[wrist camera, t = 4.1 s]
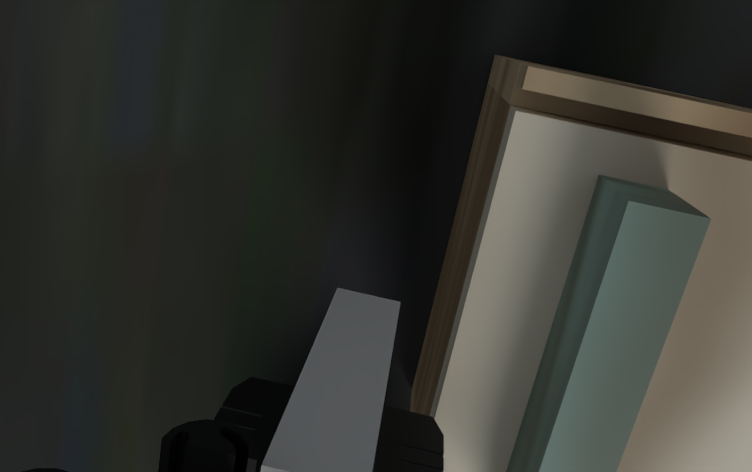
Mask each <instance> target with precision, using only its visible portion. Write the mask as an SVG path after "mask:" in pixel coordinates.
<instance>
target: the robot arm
mask: <svg viewBox="0 0 752 472" xmlns="http://www.w3.org/2000/svg"><path fill="white" fill-rule="evenodd" d="M400 303H401V302H399V301H394V300H390V299H385V298H381V297H376V296H372V295H367V294H363V293H359V292H354V291H350V290H345V289H341V288H337V290H336V292H335V295H334V297H333V299H332V302H331V304H330V306H329V309H328V311H327V313H326V316H325V318H324V320H323V323H322V325H321V327H320V330H319V332H318V334H317V337H316V339H315V342H314V344H313V346H312V349H311V351H310V353H309V356H308V358H307V360H306V363H305V365H304V367H303V370H302V372H301V374H300V377H299V379H298V381H297V384H296V386H295V387H293V386H289V385H284V384H280V383H276V382H271V381H267V380H263V379H258V378H254V377H251V378H249V379H247V380H246V381H244V382H242V383H241V384H239V385H237V386H236V387H234V388H233V389H232V390H231V392H230V394H229V395H228V397H227V398H226V400H225V402H224V403H223V406H222V408H220V410H219V412H218V413H217V415H216V417H215V419H214V420H199V421H191V422H187V423H184V424H182V425H179V426H177V427H175V428H173V429H171V430H170V431H169V432H168V433H167V434H166V435H165V436H164V437H163V438H162V443H161V452H160V461H159V470H158V472H443V470H444V458H443V455H444V435H443V433H442V431H441V430H440V428H439V426H438V424H437V423H436V421H435V419H434V418H433V417H432V416H427V415H423V414H419V413H414V412H410V411H406V410H401V409H397V408H393V407H388V406H384V399H385V393H386V387H387V381H388V375H389V369H390V363H391V357H392V351H393V345H394V339H395V333H396V327H397V321H398V315H399V309H400ZM23 472H68V471H64V470H60V469H57V468H36V469H31V470H27V471H23Z"/></svg>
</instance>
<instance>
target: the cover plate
mask: <svg viewBox="0 0 752 472" xmlns="http://www.w3.org/2000/svg"><path fill="white" fill-rule="evenodd" d="M430 416H432V417H433V418H434V419H435V421H436V423H437V424H438V426H439V428H440V430H441V431H442V433H443V435H444V455H443V458H444V470H443V472H752V157H749V156H745V155H740V154H735V153H731V152H726V151H721V150H717V149H712V148H707V147H703V146H698V145H693V144H688V143H684V142H679V141H674V140H670V139H665V138H660V137H656V136H651V135H646V134H642V133H637V132H632V131H628V130H623V129H618V128H613V127H609V126H604V125H599V124H595V123H590V122H585V121H581V120H576V119H571V118H567V117H562V116H557V115H553V114H548V113H543V112H538V111H534V110H529V109H524V108H520V107H515V106H510V109H509V113H508V117H507V121H506V125H505V128H504V132H503V136H502V140H501V144H500V148H499V152H498V155H497V159H496V163H495V167H494V171H493V175H492V178H491V182H490V186H489V190H488V194H487V198H486V201H485V205H484V209H483V213H482V217H481V221H480V224H479V228H478V232H477V236H476V240H475V244H474V247H473V251H472V255H471V259H470V263H469V267H468V270H467V274H466V278H465V282H464V286H463V290H462V293H461V297H460V301H459V305H458V309H457V313H456V316H455V320H454V324H453V328H452V332H451V336H450V339H449V343H448V347H447V351H446V355H445V359H444V362H443V366H442V370H441V374H440V378H439V382H438V385H437V389H436V393H435V397H434V401H433V405H432V408H431V412H430Z"/></svg>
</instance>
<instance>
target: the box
mask: <svg viewBox="0 0 752 472" xmlns="http://www.w3.org/2000/svg"><path fill="white" fill-rule="evenodd" d="M510 106H515V107H520V108H524V109H529V110H534V111H538V112H543V113H548V114H553V115H557V116H562V117H567V118H571V119H576V120H581V121H585V122H590V123H595V124H599V125H604V126H609V127H613V128H618V129H623V130H628V131H632V132H637V133H642V134H646V135H651V136H656V137H660V138H665V139H670V140H674V141H679V142H684V143H688V144H693V145H698V146H703V147H707V148H712V149H717V150H721V151H726V152H731V153H735V154H740V155H745V156H749V157H752V109H751V108H746V107H742V106H737V105H732V104H728V103H723V102H718V101H713V100H709V99H704V98H699V97H694V96H690V95H685V94H680V93H675V92H671V91H666V90H661V89H656V88H652V87H647V86H642V85H637V84H633V83H628V82H623V81H618V80H614V79H609V78H604V77H599V76H595V75H590V74H585V73H580V72H576V71H571V70H566V69H562V68H557V67H552V66H547V65H543V64H538V63H533V62H528V61H524V60H519V59H514V58H509V57H505V56H500V55H495V56H494V60H493V64H492V68H491V72H490V76H489V80H488V84H487V88H486V92H485V96H484V100H483V104H482V108H481V112H480V116H479V120H478V124H477V128H476V132H475V136H474V140H473V144H472V149H471V153H470V157H469V161H468V165H467V169H466V173H465V177H464V181H463V185H462V189H461V193H460V197H459V201H458V205H457V209H456V213H455V217H454V221H453V225H452V229H451V233H450V237H449V241H448V245H447V250H446V254H445V258H444V262H443V266H442V270H441V274H440V278H439V282H438V286H437V290H436V294H435V298H434V302H433V306H432V310H431V314H430V318H429V322H428V326H427V330H426V334H425V338H424V342H423V347H422V351H421V355H420V359H419V363H418V367H417V371H416V375H415V379H414V383H413V387H412V392H411V404H410V412H414V413H419V414H423V415H427V416H430V412H431V408H432V405H433V401H434V397H435V393H436V389H437V385H438V382H439V378H440V374H441V370H442V366H443V362H444V359H445V355H446V351H447V347H448V343H449V339H450V336H451V332H452V328H453V324H454V320H455V316H456V313H457V309H458V305H459V301H460V297H461V293H462V290H463V286H464V282H465V278H466V274H467V270H468V267H469V263H470V259H471V255H472V251H473V247H474V244H475V240H476V236H477V232H478V228H479V224H480V221H481V217H482V213H483V209H484V205H485V201H486V198H487V194H488V190H489V186H490V182H491V178H492V175H493V171H494V167H495V163H496V159H497V155H498V152H499V148H500V144H501V140H502V136H503V132H504V128H505V125H506V121H507V117H508V113H509V109H510Z"/></svg>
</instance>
